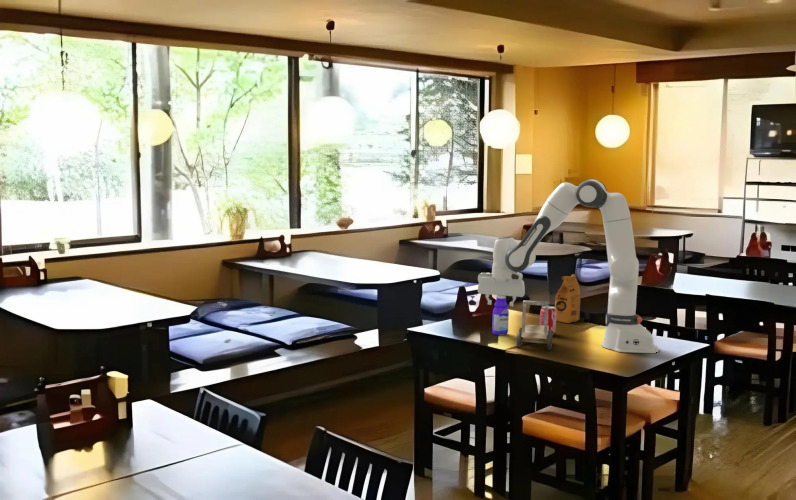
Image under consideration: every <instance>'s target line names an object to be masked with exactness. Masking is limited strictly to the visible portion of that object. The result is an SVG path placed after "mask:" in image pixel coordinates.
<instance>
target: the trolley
mask: <svg viewBox="0 0 796 500" xmlns="http://www.w3.org/2000/svg"><path fill="white" fill-rule="evenodd" d="M527 305H528V306H531V305H532V306H541V307H542V306H545V322H544V326H542V325H540V324H539V325H538V324H526V317H527V313H526V312H527ZM548 306H550V305H549V301H541V300H540V301H539V300H526V299H525V300H523V301H522V316H521V317H522V319H521V327H519V330H518V332H517V336H516V348H521V347H522V343H523V342H524V343H533V344H534V343H535V344H546V350H548V351H552V344H553V335H554V334H553V330H549V326H547V325H548ZM548 330H549V334H548ZM532 338H533V339H532ZM543 339H545V340H543Z"/></svg>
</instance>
